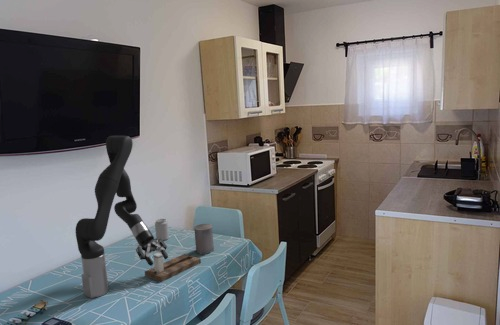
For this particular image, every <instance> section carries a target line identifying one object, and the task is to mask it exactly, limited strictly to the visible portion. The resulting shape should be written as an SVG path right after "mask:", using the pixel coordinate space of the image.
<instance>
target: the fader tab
mask: <svg viewBox="0 0 500 325" xmlns="http://www.w3.org/2000/svg"><path fill="white" fill-rule="evenodd" d="M152 255H153V265H154V267H155V271H156V273H157V274H158V273H161V272H163V271H164V267H163V263H164V257H163V255H162V254H161V252H156V253H154V254H152ZM154 267H153V268H154Z"/></svg>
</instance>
